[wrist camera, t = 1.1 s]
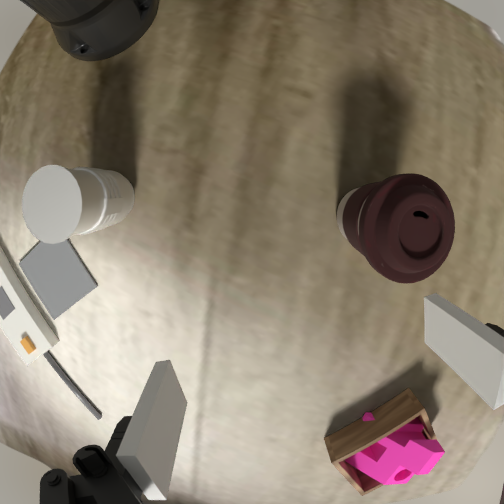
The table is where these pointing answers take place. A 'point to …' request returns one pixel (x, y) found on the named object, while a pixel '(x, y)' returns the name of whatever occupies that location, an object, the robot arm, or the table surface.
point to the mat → (57, 276)
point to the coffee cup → (399, 226)
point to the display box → (374, 436)
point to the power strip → (28, 325)
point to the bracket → (398, 454)
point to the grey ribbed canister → (74, 201)
